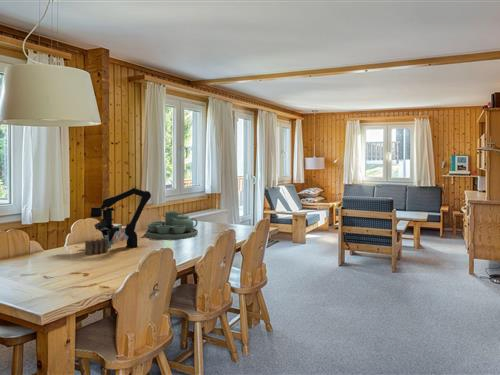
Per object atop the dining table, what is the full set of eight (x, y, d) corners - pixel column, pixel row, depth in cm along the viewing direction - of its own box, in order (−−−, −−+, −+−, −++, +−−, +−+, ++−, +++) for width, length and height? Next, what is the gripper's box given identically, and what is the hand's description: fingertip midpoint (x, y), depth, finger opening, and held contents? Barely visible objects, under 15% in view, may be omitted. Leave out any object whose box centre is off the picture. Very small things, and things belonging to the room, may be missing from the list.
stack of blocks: (120, 238, 318) (120, 221, 317) (128, 238, 317) (128, 222, 316) (105, 243, 297) (104, 226, 296) (113, 244, 296) (113, 226, 295)
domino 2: (93, 252, 269) (92, 239, 268) (97, 253, 265) (97, 241, 265) (90, 253, 267) (90, 240, 267) (95, 254, 264) (95, 241, 264)
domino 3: (98, 251, 271) (98, 239, 271) (102, 252, 268) (102, 240, 268) (96, 252, 270) (95, 239, 270) (100, 253, 267) (100, 240, 266)
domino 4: (103, 250, 274) (103, 238, 274) (107, 252, 271) (107, 239, 271) (101, 251, 273) (101, 238, 272) (105, 252, 270) (105, 239, 269)
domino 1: (87, 253, 266) (87, 240, 265) (92, 254, 263) (92, 241, 262) (85, 254, 265) (85, 241, 264) (89, 255, 261) (89, 242, 261)
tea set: (136, 234, 338) (136, 213, 337) (179, 229, 365) (179, 209, 364) (163, 241, 309) (163, 219, 307) (207, 235, 336) (208, 214, 334)
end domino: (106, 247, 286) (106, 235, 286) (110, 248, 283) (110, 236, 282) (104, 247, 285) (104, 235, 284) (108, 248, 282) (108, 236, 281)
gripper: (88, 217, 282) (88, 240, 283) (104, 220, 270) (104, 244, 271) (103, 215, 291) (103, 238, 292) (119, 218, 279) (120, 242, 280)
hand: (107, 240), depth 284 cm, fingers closed on end domino, 5 cm apart
